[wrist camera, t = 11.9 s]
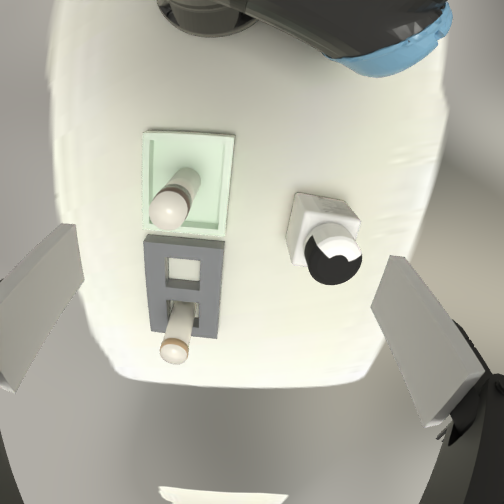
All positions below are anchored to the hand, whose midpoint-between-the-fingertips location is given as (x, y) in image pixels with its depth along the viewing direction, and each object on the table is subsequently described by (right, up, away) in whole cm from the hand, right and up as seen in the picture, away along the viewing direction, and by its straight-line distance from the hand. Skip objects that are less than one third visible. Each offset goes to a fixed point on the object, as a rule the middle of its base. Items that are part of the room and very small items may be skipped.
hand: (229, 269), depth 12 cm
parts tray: (-8, +11, +30) cm, 33 cm away
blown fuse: (-8, +10, +30) cm, 33 cm away
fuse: (-11, -8, +41) cm, 43 cm away
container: (+10, +6, +34) cm, 36 cm away
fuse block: (-10, -5, +39) cm, 40 cm away
